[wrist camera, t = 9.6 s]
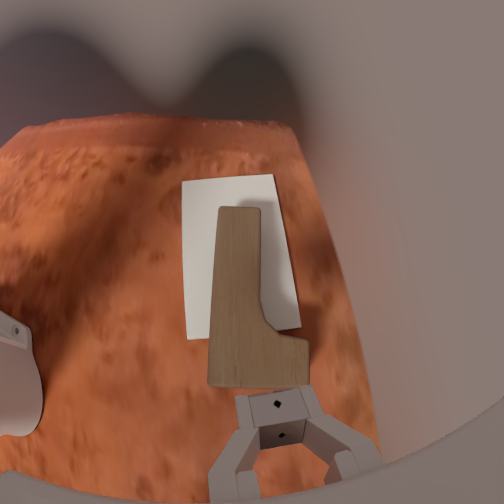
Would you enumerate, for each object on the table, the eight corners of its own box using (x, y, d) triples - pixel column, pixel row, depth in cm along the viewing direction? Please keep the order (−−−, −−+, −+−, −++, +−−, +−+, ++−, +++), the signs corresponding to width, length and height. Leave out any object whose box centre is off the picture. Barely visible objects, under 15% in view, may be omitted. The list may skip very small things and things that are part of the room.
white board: (300, 327, 30) (301, 326, 30) (188, 339, 29) (187, 339, 28) (272, 177, 38) (272, 174, 37) (182, 184, 37) (182, 181, 36)
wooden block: (299, 385, 27) (295, 228, 34) (310, 387, 23) (303, 208, 30) (211, 384, 27) (220, 225, 34) (206, 386, 22) (218, 204, 30)
